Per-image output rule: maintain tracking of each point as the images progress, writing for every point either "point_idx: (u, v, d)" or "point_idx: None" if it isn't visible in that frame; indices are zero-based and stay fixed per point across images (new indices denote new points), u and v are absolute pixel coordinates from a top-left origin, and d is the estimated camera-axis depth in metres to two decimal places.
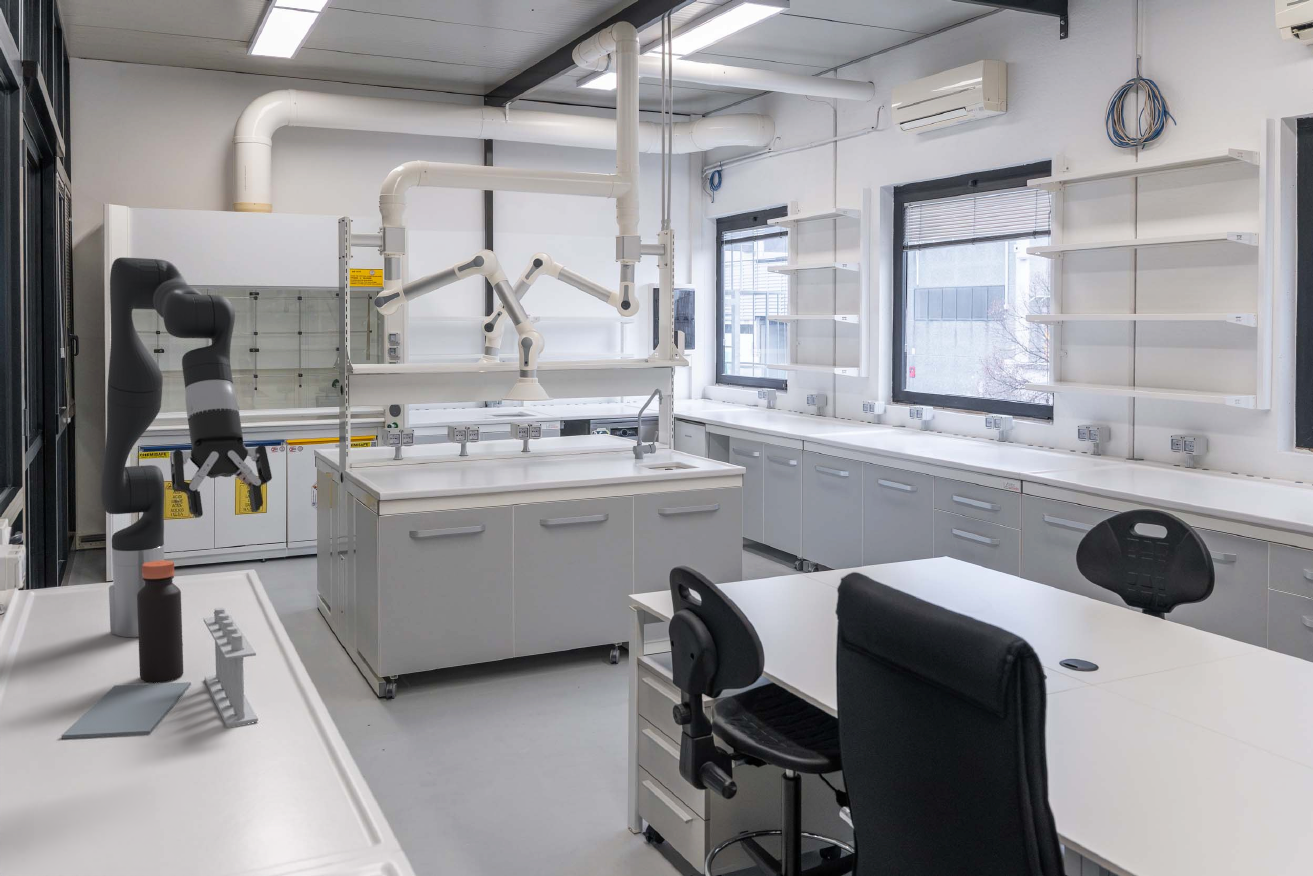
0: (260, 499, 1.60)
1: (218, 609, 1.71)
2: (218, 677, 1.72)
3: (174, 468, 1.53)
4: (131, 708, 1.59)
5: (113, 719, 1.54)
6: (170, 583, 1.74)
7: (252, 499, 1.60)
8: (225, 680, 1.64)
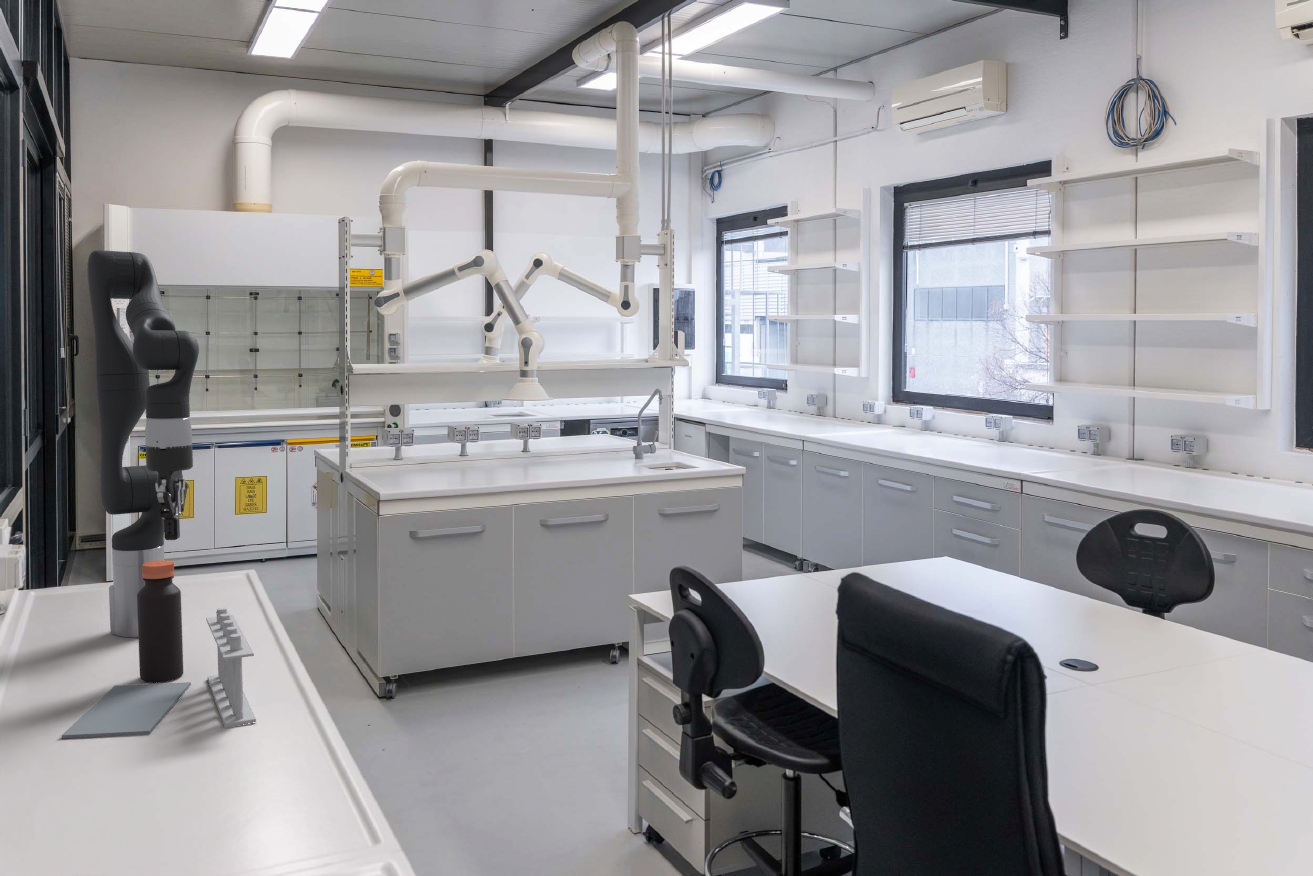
0: None
1: (220, 609, 1.71)
2: (220, 677, 1.72)
3: (168, 506, 1.77)
4: (131, 708, 1.59)
5: (113, 719, 1.54)
6: (170, 583, 1.74)
7: None
8: (225, 680, 1.64)
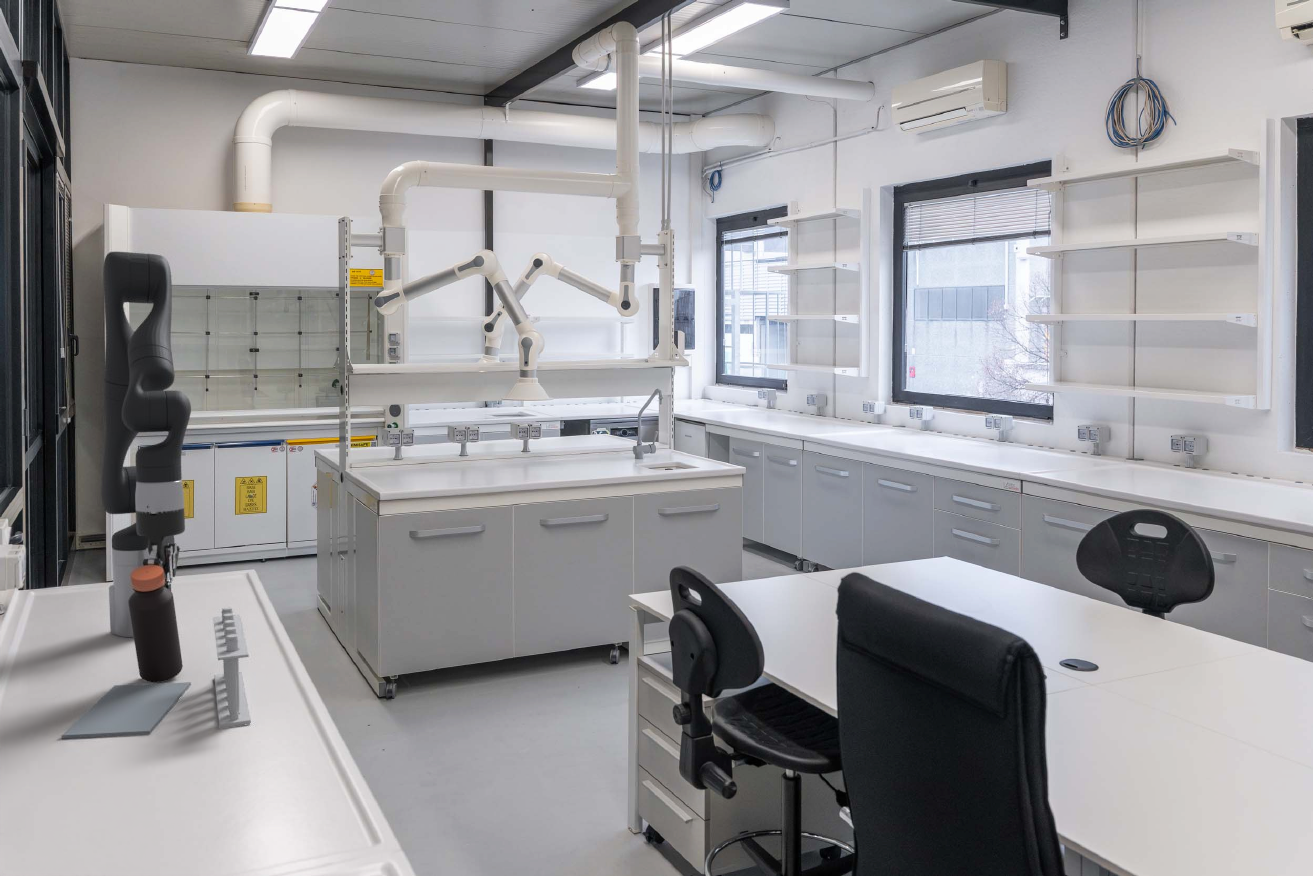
0: None
1: (225, 608, 1.71)
2: (225, 676, 1.72)
3: None
4: (131, 708, 1.59)
5: (113, 719, 1.54)
6: (161, 591, 1.68)
7: None
8: (226, 680, 1.64)
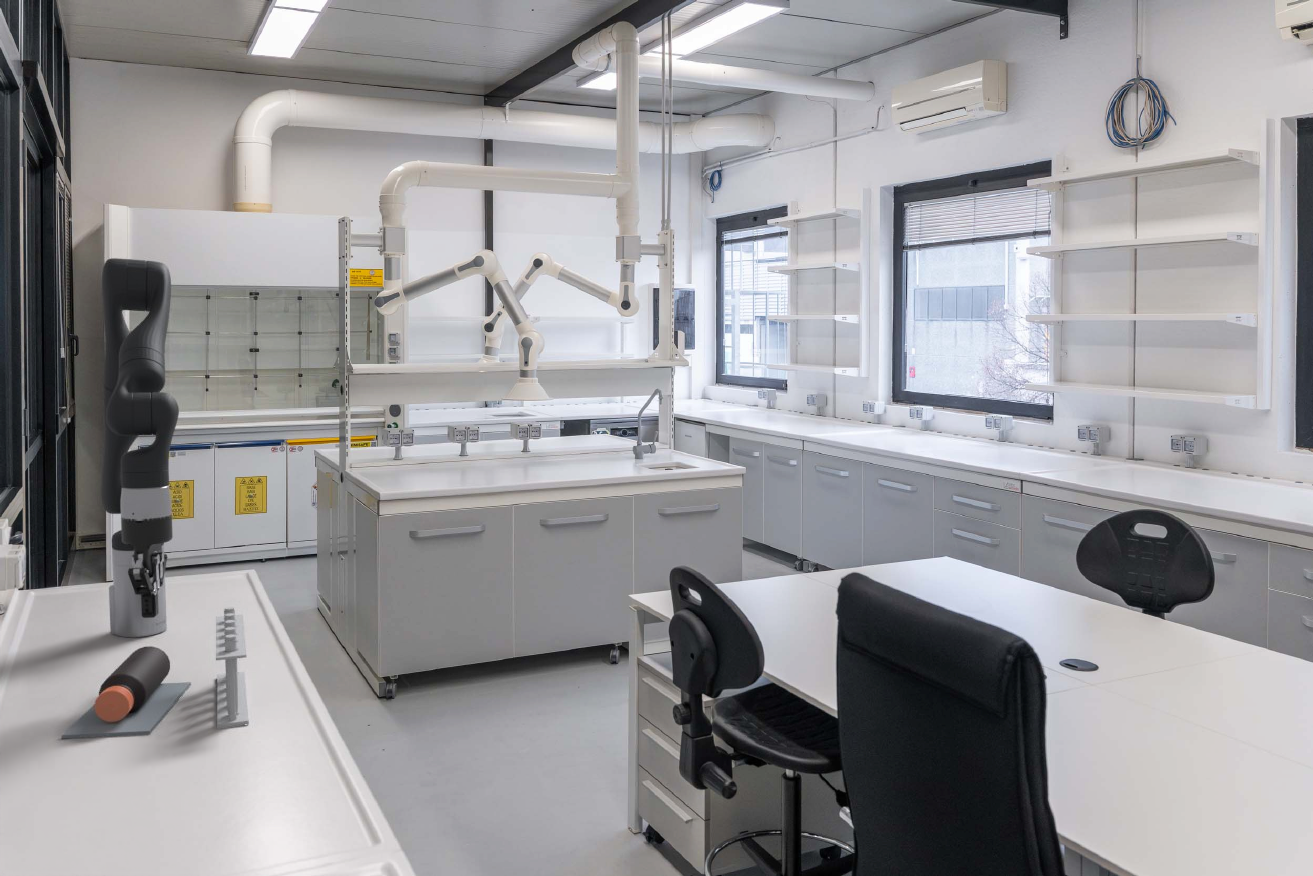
0: None
1: (228, 608, 1.71)
2: None
3: (145, 583, 1.64)
4: None
5: None
6: (133, 698, 1.56)
7: None
8: None
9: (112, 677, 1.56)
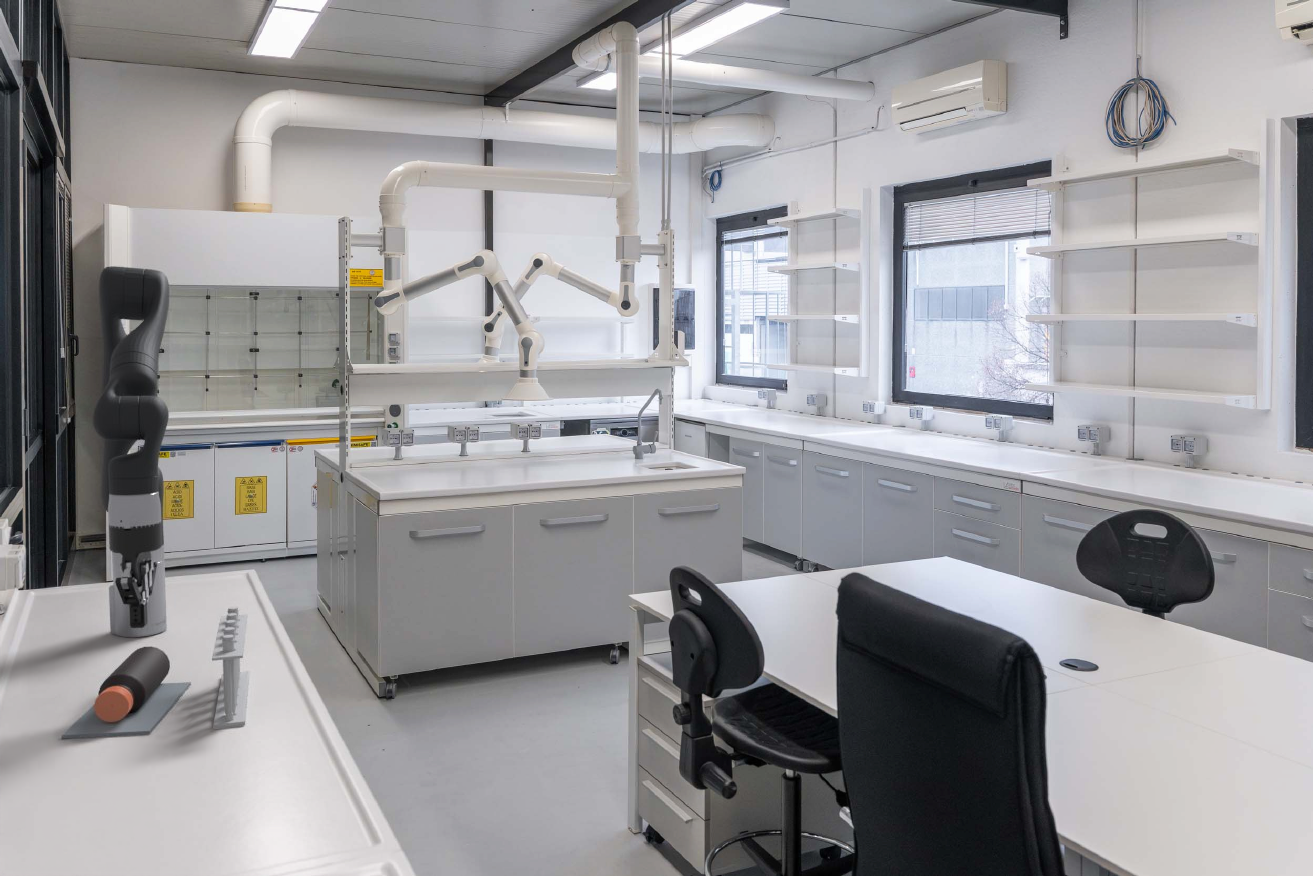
0: None
1: (231, 608, 1.72)
2: None
3: (133, 593, 1.59)
4: None
5: None
6: (133, 698, 1.56)
7: None
8: None
9: (111, 677, 1.56)
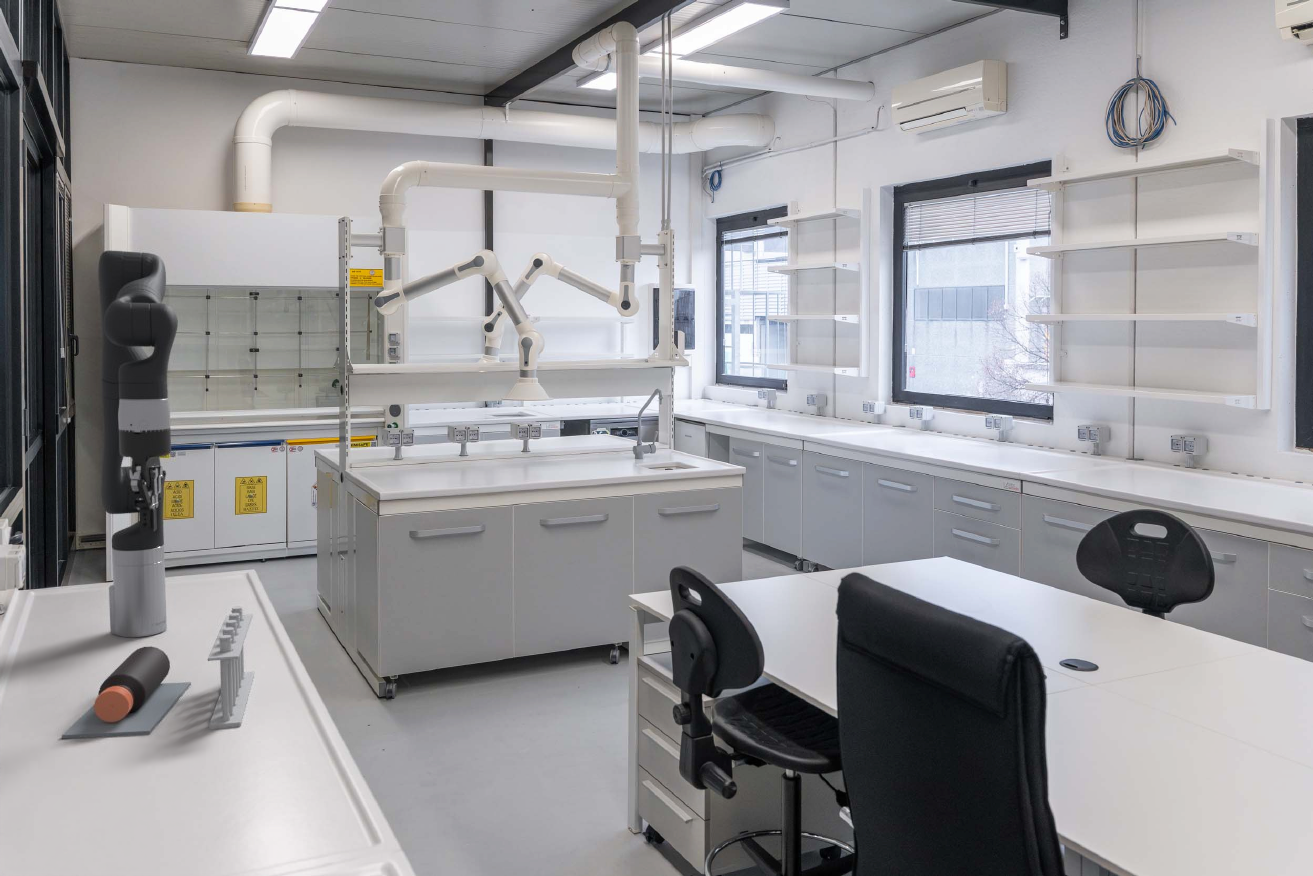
0: None
1: (235, 608, 1.72)
2: None
3: (142, 495, 1.62)
4: None
5: None
6: (133, 698, 1.56)
7: None
8: None
9: (111, 677, 1.56)
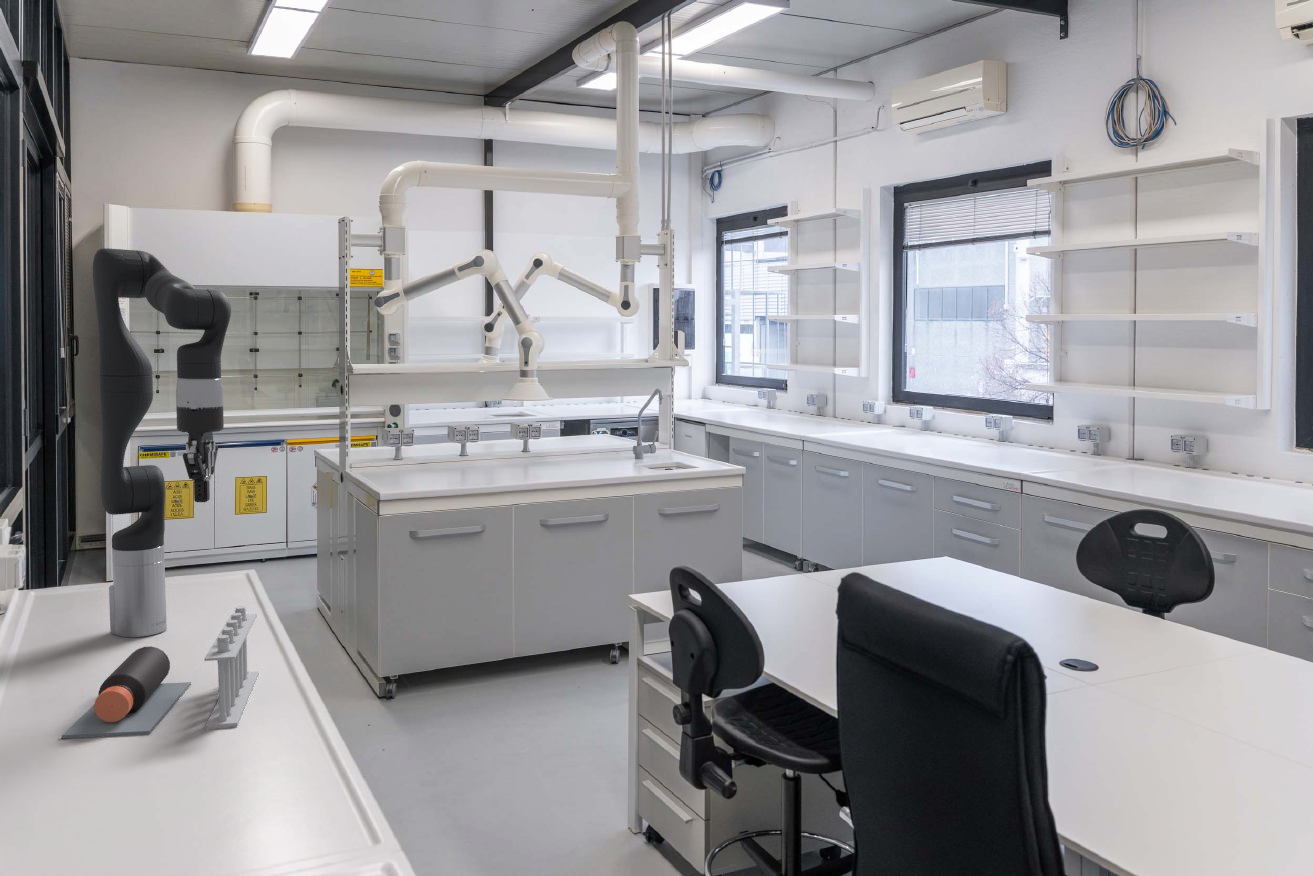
0: None
1: (238, 608, 1.72)
2: None
3: (198, 468, 1.75)
4: None
5: None
6: (133, 698, 1.56)
7: None
8: None
9: (111, 677, 1.56)
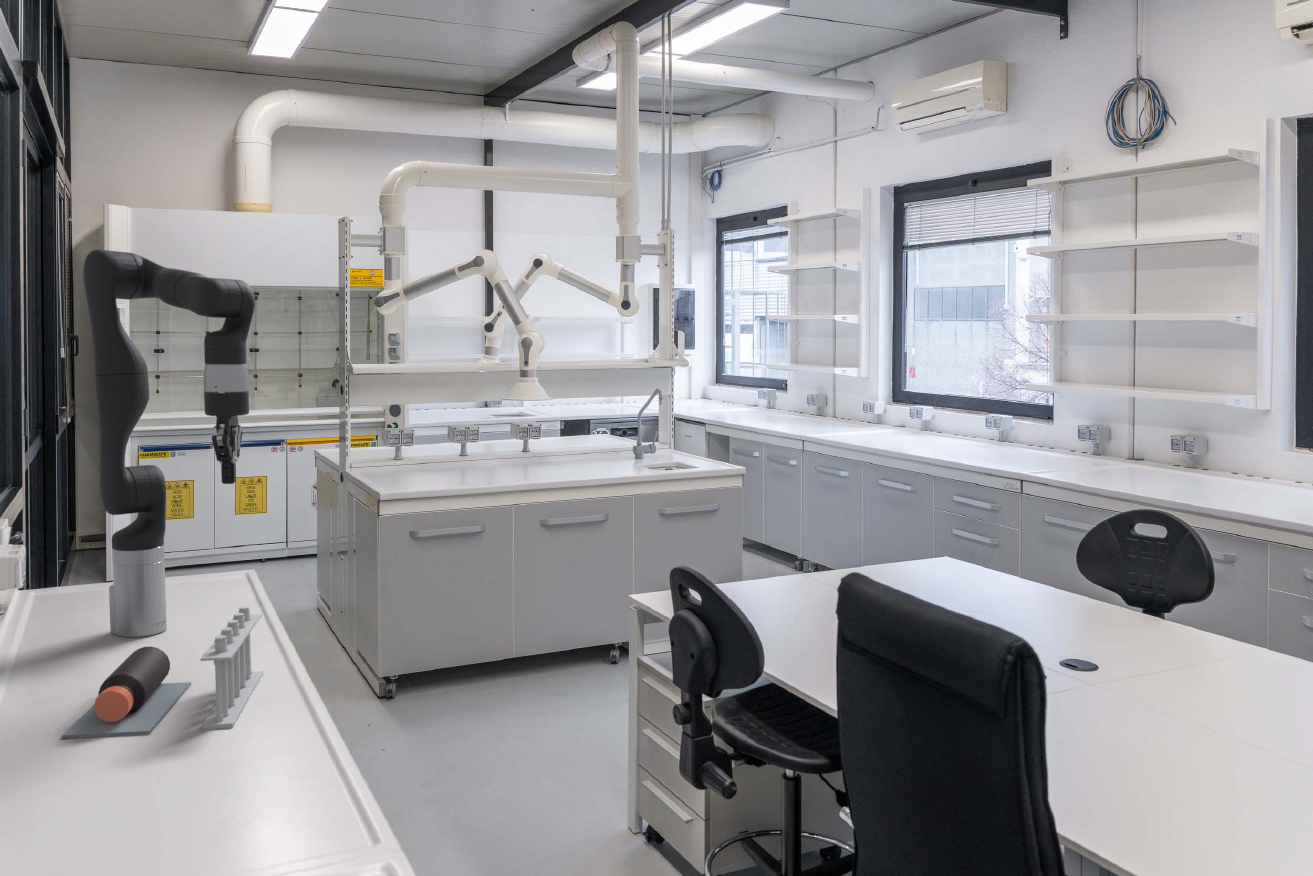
0: None
1: (242, 607, 1.72)
2: None
3: (226, 450, 1.82)
4: None
5: None
6: (133, 698, 1.56)
7: None
8: None
9: (111, 677, 1.56)
